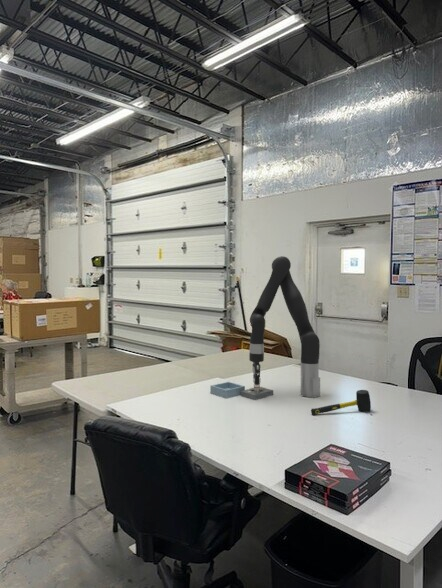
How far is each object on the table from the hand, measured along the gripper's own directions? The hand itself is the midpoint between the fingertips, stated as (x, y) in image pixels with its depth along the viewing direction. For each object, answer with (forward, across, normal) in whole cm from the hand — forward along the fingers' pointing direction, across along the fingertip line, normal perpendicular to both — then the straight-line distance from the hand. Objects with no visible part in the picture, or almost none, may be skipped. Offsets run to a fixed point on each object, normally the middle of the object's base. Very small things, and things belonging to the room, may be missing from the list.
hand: (256, 382), depth 215 cm
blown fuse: (+7, 0, 0) cm, 7 cm away
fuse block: (+7, 0, 0) cm, 7 cm away
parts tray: (+7, +4, +15) cm, 17 cm away
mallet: (+6, -29, -36) cm, 47 cm away
